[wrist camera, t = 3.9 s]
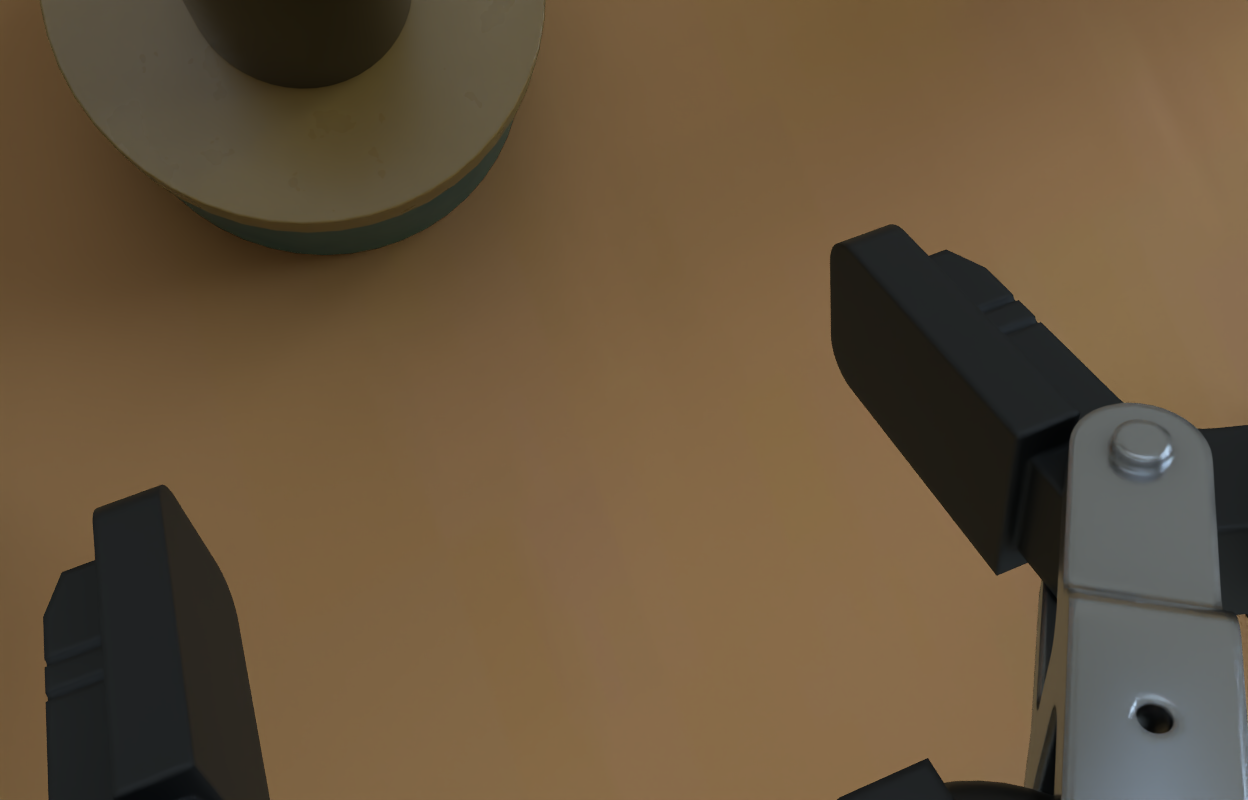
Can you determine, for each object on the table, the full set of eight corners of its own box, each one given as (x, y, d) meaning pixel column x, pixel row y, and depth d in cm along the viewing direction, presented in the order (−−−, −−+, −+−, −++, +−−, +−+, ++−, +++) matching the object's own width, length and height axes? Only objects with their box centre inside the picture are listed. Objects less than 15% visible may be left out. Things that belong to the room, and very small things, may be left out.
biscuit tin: (463, -182, 37) (469, -303, 31) (575, 203, 37) (603, 156, 31) (52, -99, 35) (-27, -212, 29) (171, 309, 35) (118, 280, 29)
